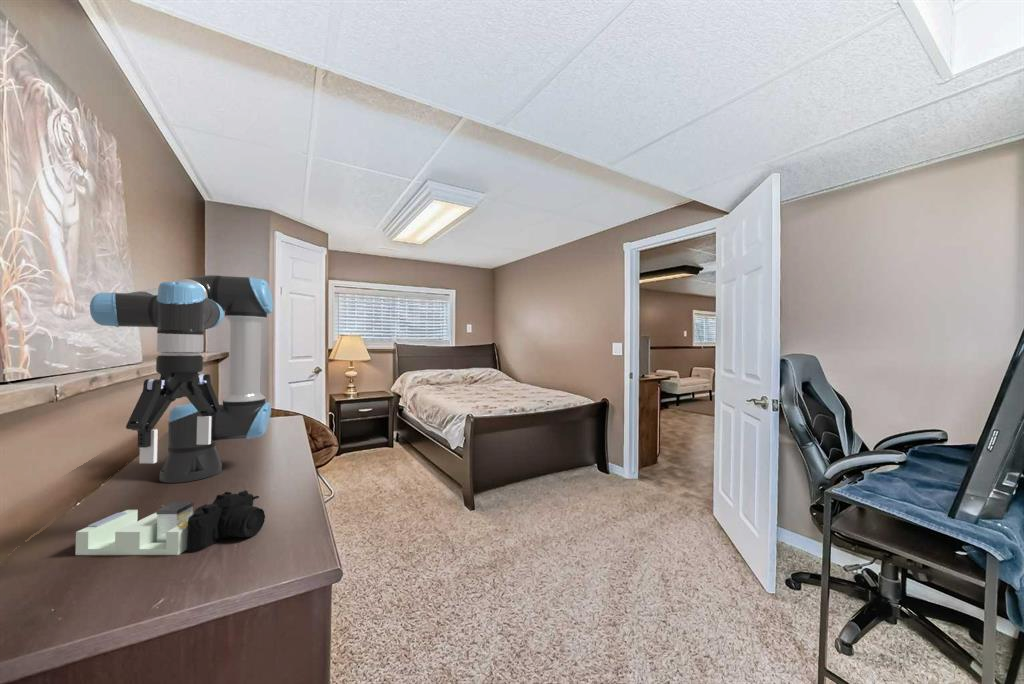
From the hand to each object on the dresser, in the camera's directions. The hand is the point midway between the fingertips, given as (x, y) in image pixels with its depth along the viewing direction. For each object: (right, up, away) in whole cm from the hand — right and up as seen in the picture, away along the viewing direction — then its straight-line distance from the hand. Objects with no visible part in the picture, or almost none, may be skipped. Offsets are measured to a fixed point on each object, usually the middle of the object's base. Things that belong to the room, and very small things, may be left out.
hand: (178, 452), depth 80 cm
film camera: (+10, -19, +2) cm, 22 cm away
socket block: (-5, -19, -1) cm, 19 cm away
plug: (0, -18, -1) cm, 18 cm away
